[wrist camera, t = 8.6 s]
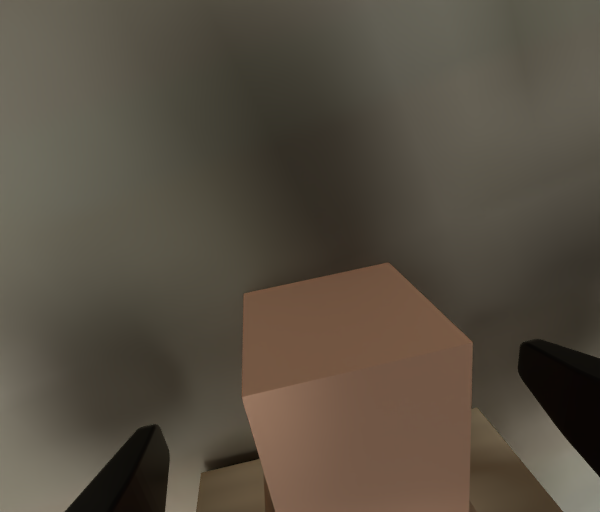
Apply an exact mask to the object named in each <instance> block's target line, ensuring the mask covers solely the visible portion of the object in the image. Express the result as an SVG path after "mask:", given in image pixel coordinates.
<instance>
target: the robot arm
mask: <svg viewBox="0 0 600 512" xmlns="http://www.w3.org/2000/svg"><path fill="white" fill-rule="evenodd" d="M518 372H519V375H520V377H521V379H522V380H523V382H524V383H525V384H526V386H527V387H528V388H529V390H530V391H531V392H532V394H533V395H534V396H535V398H536V399H537V401H538V402H539V403H540V405H541V406H542V407H543V409H544V410H545V411H546V413H547V414H548V416H549V417H550V418H551V420H552V421H553V422H554V424H555V425H556V426H557V428H558V429H559V430H560V431H561V433H562V434H563V435H564V436H565V438H566V439H567V440H568V441H569V442H570V444H571V445H572V446H573V447H574V448H575V449H576V450H577V452H578V453H579V454H580V455H581V456H582V457H583V458H584V460H585V461H586V462H587V463H588V464H589V465H590V466H591V468H592V469H593V470H594V471H595V472H596V473H597V474H598V476H599V477H600V358H596V357H593V356H590V355H587V354H584V353H581V352H578V351H575V350H572V349H569V348H566V347H563V346H559V345H556V344H553V343H550V342H547V341H544V340H541V339H534V340H529V341H525V342H523V343H522V344H521V345H520V350H519V360H518ZM169 461H170V455H169V449H168V446H167V444H166V441H165V439H164V436H163V434H162V431H161V429H160V427H159V426H158V425H157V424H153V425H149V426H144V427H141V428H139V429H138V430H136V432H135V433H134V434H133V435H132V436H131V437H130V438H129V439H128V441H127V442H126V443H125V444H124V445H123V446H122V447H121V448H120V450H119V451H118V452H117V453H116V454H115V455H114V456H113V458H112V459H111V460H110V461H109V462H108V463H107V464H106V465H105V467H104V468H103V469H102V470H101V471H100V472H99V473H98V475H97V476H96V477H95V478H94V479H93V480H92V481H91V482H90V484H89V485H88V486H87V487H86V488H85V489H84V490H83V491H82V493H81V494H80V495H79V496H78V497H77V498H76V499H75V501H74V502H73V503H72V504H71V505H70V506H69V507H68V508H67V510H66V511H65V512H165V505H166V494H167V483H168V472H169Z"/></svg>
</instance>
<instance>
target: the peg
mask: <svg viewBox="0 0 600 512" xmlns="http://www.w3.org/2000/svg"><path fill="white" fill-rule="evenodd" d="M472 360H473V342H472V341H471V340H470V339H469V338H468V337H467V336H466V335H465V334H464V333H463V332H461V331H460V330H459V329H458V328H457V327H456V326H455V325H454V324H453V323H452V322H451V321H450V320H449V319H448V318H447V317H446V316H445V315H444V314H443V313H441V312H440V311H439V310H438V309H437V308H436V307H435V306H434V305H433V304H432V303H431V302H430V301H429V300H428V299H427V298H426V297H425V296H424V295H423V294H421V293H420V292H419V291H418V290H417V289H416V288H415V287H414V286H413V285H412V284H411V283H410V282H409V281H408V280H407V279H406V278H405V277H404V276H403V275H402V274H400V273H399V272H398V271H397V270H396V269H395V268H394V267H393V266H392V265H391V264H390V263H389V262H388V263H383V264H379V265H374V266H369V267H365V268H360V269H355V270H351V271H346V272H341V273H337V274H332V275H327V276H323V277H318V278H313V279H309V280H304V281H299V282H295V283H290V284H285V285H281V286H276V287H272V288H267V289H262V290H258V291H253V292H248V293H244V294H243V351H242V400H243V403H244V407H245V410H246V414H247V417H248V420H249V424H250V427H251V431H252V434H253V438H254V441H255V444H256V448H257V451H258V455H259V458H260V461H261V465H262V468H263V472H264V475H265V479H266V482H267V485H268V489H269V492H270V496H271V499H272V502H273V506H274V509H275V512H469V494H470V449H471V405H472Z"/></svg>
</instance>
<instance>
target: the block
mask: <svg viewBox="0 0 600 512" xmlns="http://www.w3.org/2000/svg"><path fill="white" fill-rule="evenodd" d="M196 512H275V509H274V506H273V502H272V499H271V496H270V492H269V489H268V485H267V482H266V479H265V475H264V472H263V468H262V465H261V461H260V459H258V460H253V461H249V462H245V463H241V464H236V465H232V466H228V467H224V468H220V469H215V470H211V471H207V472H203V473H201V479H200V486H199V494H198V502H197V509H196ZM469 512H563V511H562V510H561V509H560V507H559V506H558V505H557V504H556V502H555V501H554V500H553V499H552V498H551V496H550V495H549V494H548V493H547V492H546V490H545V489H544V488H543V487H542V486H541V484H540V483H539V482H538V481H537V479H536V478H535V477H534V476H533V475H532V473H531V472H530V471H529V470H528V469H527V467H526V466H525V465H524V464H523V463H522V461H521V460H520V459H519V458H518V456H517V455H516V454H515V453H514V452H513V450H512V449H511V448H510V447H509V446H508V444H507V443H506V442H505V441H504V440H503V438H502V437H501V436H500V435H499V433H498V432H497V431H496V430H495V429H494V427H493V426H492V425H491V424H490V423H489V421H488V420H487V419H486V418H485V417H484V415H483V414H482V413H481V412H480V410H479V409H478V408H477V407H476V408H472V409H471V449H470V494H469Z"/></svg>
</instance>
